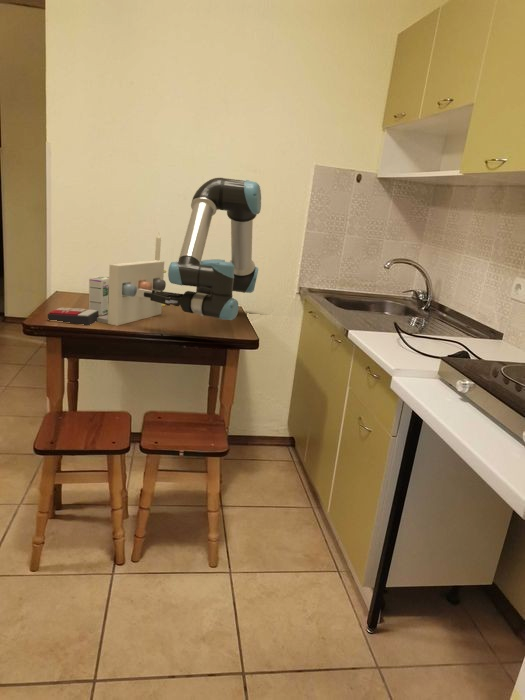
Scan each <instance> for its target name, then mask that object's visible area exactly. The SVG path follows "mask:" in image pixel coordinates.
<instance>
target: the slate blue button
mask: <svg viewBox="0 0 525 700" xmlns="http://www.w3.org/2000/svg"><path fill="white" fill-rule="evenodd" d="M136 292H137V288H136V286H135V285H132V284H126V283H124V284H122V295H126V296H131V297H133V296H135V295H136Z"/></svg>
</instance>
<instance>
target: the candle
mask: <svg viewBox="0 0 525 700" xmlns="http://www.w3.org/2000/svg"><path fill="white" fill-rule="evenodd" d="M161 242H162V237H161V235H160V232H158V233H157V235H156V237H155V251H154V260H158V261H161V244H162V243H161ZM165 273H167V271H166V270H165V269H164V274H165ZM162 307H165V304H162Z"/></svg>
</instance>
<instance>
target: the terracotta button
mask: <svg viewBox="0 0 525 700" xmlns="http://www.w3.org/2000/svg"><path fill="white" fill-rule="evenodd" d="M138 289H145V290H150V291H151V290H152V285H151V283H150V282H144V281H139V283H138Z"/></svg>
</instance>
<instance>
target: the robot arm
mask: <svg viewBox="0 0 525 700" xmlns="http://www.w3.org/2000/svg"><path fill="white" fill-rule="evenodd" d="M261 190H262V189H261V186H260V184H259V183H258V182H257V181H252V180H248V179H246V180H242V179H241V180H240V179H234V178H224V177H214V178H211V179H209V180H207V181H206V182H204V183H203V184H202V185H200V187H198V189H197V190H196V191H195V193H194V195H193V197H192V199H191V203H190V207H191V213H190V217H189V221H188V224H187V228H186V232H185V236H184V239H183V243H182V247H181V250H180V253H179V257H178V260H177V261H171V262H170V264H169V267H168V271H167V277H168V281H169V283H171V284H173V285H179V286H186V287H188V286H189V287H196V290H195V291H191V290H187V291H185V292H184V293H179V292H177V293H176V292H169V291H164V290H163V291H160V292H158V291H157V292H155V290H152V291H150V290H145V289H138V292H137V296H138V297H144V298H149V299H150V300H151V301H155V302H159V303H162V304H165V305H166V306H171V305H172V306H174V307H181V310H182V311H183V312H185V313H188V314H195V315H200V317H204V316H206V317H210V318H216V319H219V320H227V321H233V320H235V319H236V317H237V316H238V313H239V309H240V308H239V307H240V306H239V301H238V300H237V299H236V298H233V292H238V293H244V294H245V293H249V294H251V293H253V292H254V291H255V287H256V283H257V278H258V274H259V267H257V266H256V264H255V262H254V261H253V258H252V257H253V253H252V252H253V223H254V221H253V220H254V219H256V218H257V215H259V214H260V213H261V209H262V191H261ZM219 210H220V211H226V215H227V217H228V219H230V235H231V236H230V238H231V240H230V245H231V246H230V247H231V250H230V252H231V253H230V254H231V255H230V256H231V260H230V261H226V260H225V259H219V258H218V259H213V258H211V259H202V258H203V254H204V250H205V247H206V243H207V238H208V235H209V231H210V227H211V223H212V219H213V216H214V215H215V214H216V213H217V211H219Z"/></svg>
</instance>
